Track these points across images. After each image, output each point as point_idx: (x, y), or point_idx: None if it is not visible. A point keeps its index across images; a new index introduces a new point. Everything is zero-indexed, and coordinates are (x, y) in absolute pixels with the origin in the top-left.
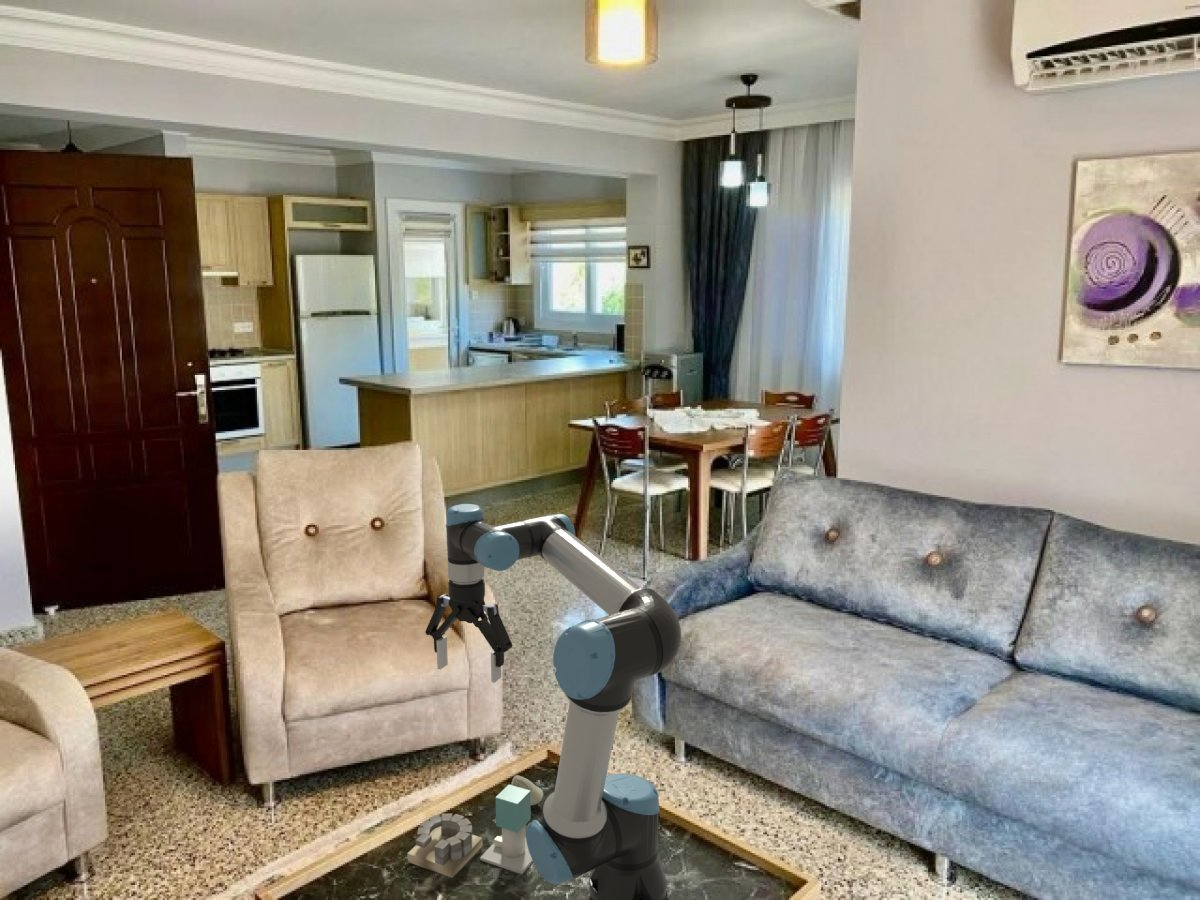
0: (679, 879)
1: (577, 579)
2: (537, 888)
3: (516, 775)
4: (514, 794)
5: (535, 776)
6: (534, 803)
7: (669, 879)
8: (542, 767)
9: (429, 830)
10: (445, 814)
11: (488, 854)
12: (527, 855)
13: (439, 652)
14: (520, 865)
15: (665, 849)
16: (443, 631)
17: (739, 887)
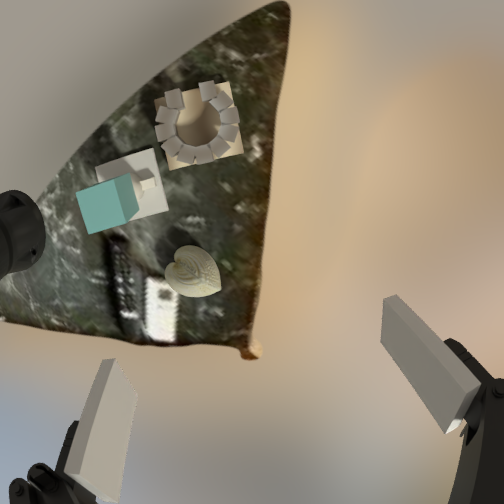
0: None
1: None
2: (69, 163)
3: (204, 283)
4: (97, 208)
5: (230, 317)
6: (166, 267)
7: None
8: (237, 334)
9: (214, 107)
10: (225, 149)
11: (148, 159)
12: None
13: (430, 348)
14: (103, 173)
15: (38, 300)
16: (475, 458)
17: None
